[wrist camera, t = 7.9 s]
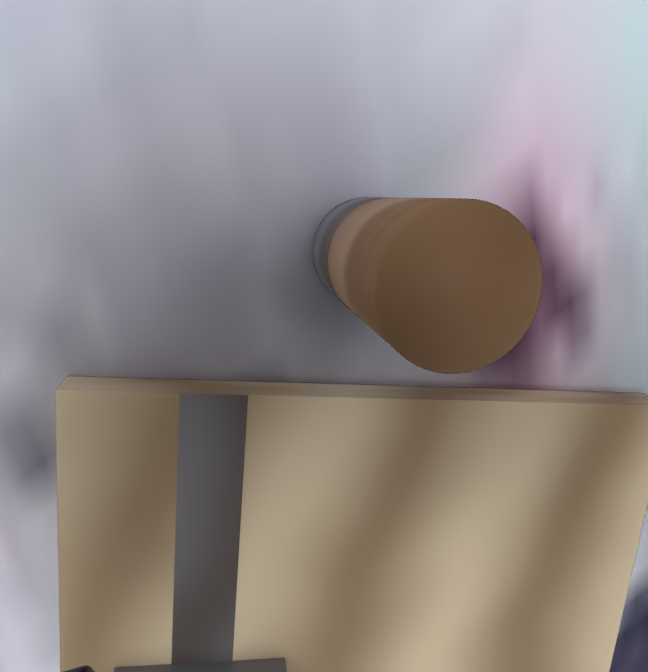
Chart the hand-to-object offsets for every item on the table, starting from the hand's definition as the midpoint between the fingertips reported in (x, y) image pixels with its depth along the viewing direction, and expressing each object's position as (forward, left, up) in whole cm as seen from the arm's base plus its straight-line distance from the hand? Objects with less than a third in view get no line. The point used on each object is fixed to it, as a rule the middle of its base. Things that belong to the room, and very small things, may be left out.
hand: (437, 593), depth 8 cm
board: (-6, +4, -10) cm, 12 cm away
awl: (+2, -3, -10) cm, 11 cm away
